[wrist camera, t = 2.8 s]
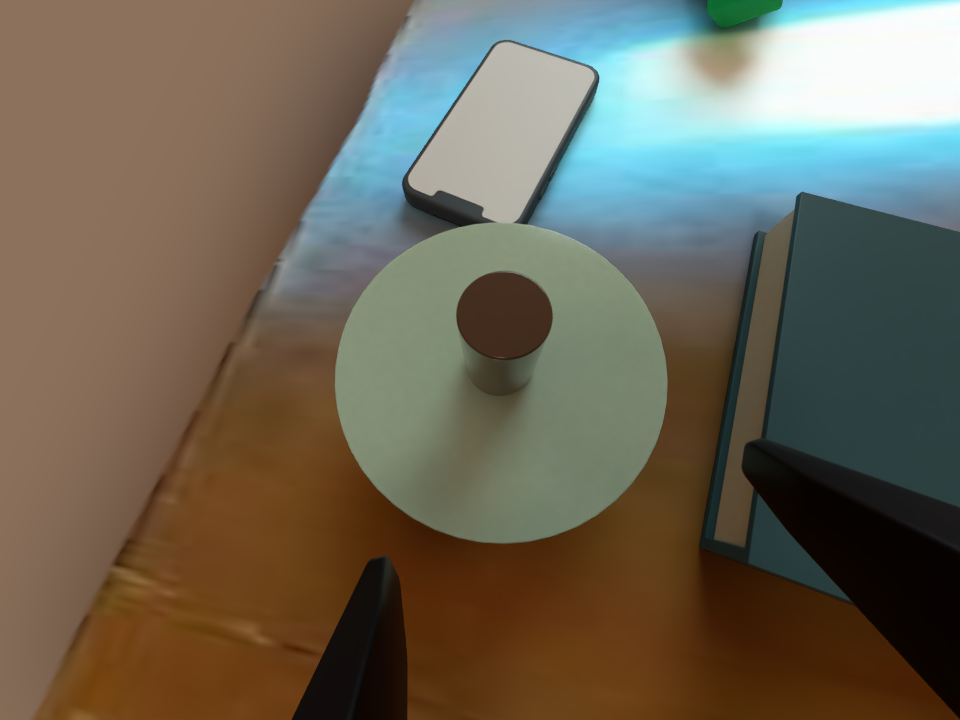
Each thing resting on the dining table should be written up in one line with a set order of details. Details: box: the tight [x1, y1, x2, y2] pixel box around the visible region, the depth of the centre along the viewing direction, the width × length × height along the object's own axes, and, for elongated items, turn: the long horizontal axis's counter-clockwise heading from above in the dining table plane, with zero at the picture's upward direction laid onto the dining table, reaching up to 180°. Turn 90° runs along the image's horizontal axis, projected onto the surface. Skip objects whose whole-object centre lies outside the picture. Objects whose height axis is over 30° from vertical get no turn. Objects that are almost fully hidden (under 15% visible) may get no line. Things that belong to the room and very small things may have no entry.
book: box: [699, 192, 960, 605], centre depth 20 cm, size 20×16×4 cm
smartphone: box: [402, 40, 599, 227], centre depth 28 cm, size 9×2×16 cm
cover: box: [335, 223, 668, 544], centre depth 14 cm, size 14×14×6 cm
